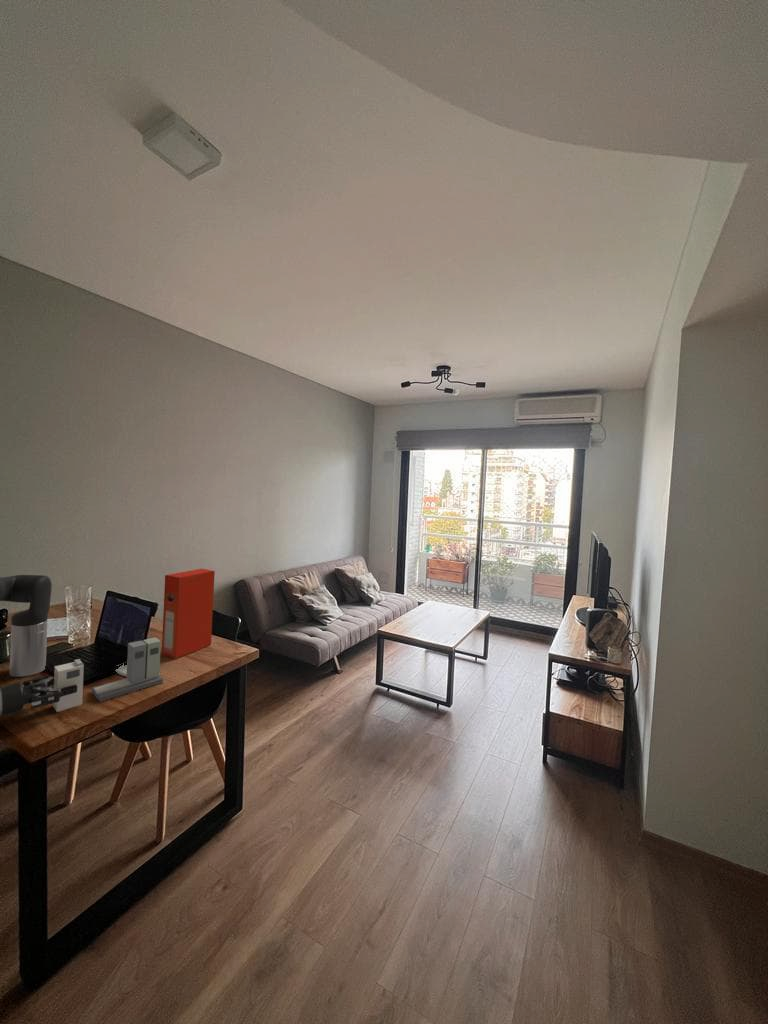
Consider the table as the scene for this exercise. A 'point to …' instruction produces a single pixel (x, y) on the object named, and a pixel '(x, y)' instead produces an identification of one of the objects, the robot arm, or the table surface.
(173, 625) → the file binder
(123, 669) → the external hard drive
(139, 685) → the board
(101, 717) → the table surface
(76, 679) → the block
